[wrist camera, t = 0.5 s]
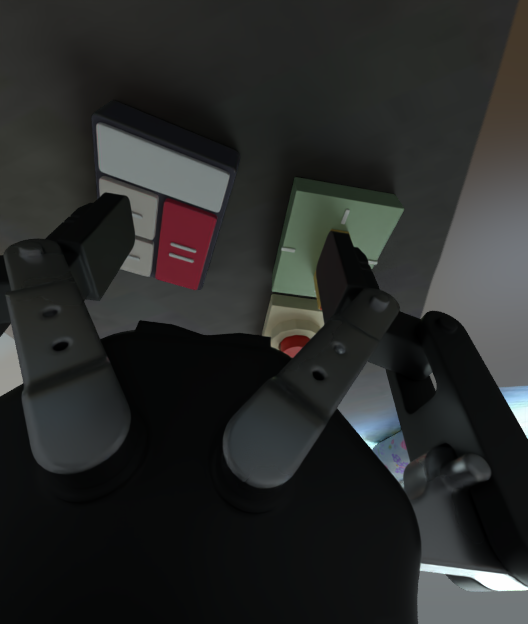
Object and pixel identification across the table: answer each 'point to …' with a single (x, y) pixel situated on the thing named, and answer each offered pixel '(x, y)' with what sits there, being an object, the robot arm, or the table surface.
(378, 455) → the pencil case
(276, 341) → the box
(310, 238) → the plate
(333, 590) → the robot arm
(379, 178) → the table surface
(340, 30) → the table surface
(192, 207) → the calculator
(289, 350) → the button
